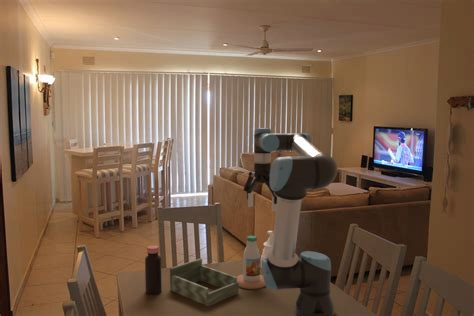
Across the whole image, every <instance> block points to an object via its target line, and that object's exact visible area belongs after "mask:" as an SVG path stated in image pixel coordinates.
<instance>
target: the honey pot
mask: <svg viewBox="0 0 474 316" xmlns="http://www.w3.org/2000/svg"><path fill="white" fill-rule="evenodd" d="M267 235H269V237H268V239H267V241H265V242H263V244H262V245H263V246H264V248H263V249H262V254H260V269H262V260H263V259H265V258H266V259H267V255H268V253H269V251H271V250H272V245H273V235H274V230H268V231H267Z"/></svg>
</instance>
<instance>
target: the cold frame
mask: <svg viewBox="0 0 474 316" xmlns="http://www.w3.org/2000/svg"><path fill="white" fill-rule="evenodd" d="M169 278H170V279H169V280H170V281H169V283H170V284H169V285H170V286H169V288H170V289H169V290H170V291H171V292H174V293H176V294H179V295H181V296H183V297H186V298H187V299H190V300H192V301H194V302H196V303H200V304H202V305H203V306H207V307H211V306H213V305H215V304H218V303H219V302H222V301H224V300H226V299H229V298H231V297H233V296H235V295H238V294H239V292H240V291H239V288H240V287H239V282H237V276H235V275H232V274H229V273H226V272H223V271H221V270H217V269H214V268H212V267H208V266H206V265H203V258H201V257H200V258H198V259H194V260H191V261H188V262H185V263H182V264H178V265H175V266H173V267H170V268H169ZM200 281H202V282H204V283H207V284H209V285H211V286H215V287H218V288H217V289H215V290H213V291H210V292H209V288H208V287H205V286H204V285H201V284H198V283H197V282H200Z"/></svg>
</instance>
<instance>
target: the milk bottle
mask: <svg viewBox="0 0 474 316" xmlns="http://www.w3.org/2000/svg"><path fill="white" fill-rule="evenodd" d="M257 240H258V236H255V235H247V236H246V246H245V249H244V252H243V255H242V256H243V259H242V263H243V264H242V274H243V279H244V280H245V281H247V282H257V281H259V280H260V275H261V253H260V249H259V248H258V245H257V242H258V241H257Z"/></svg>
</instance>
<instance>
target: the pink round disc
mask: <svg viewBox="0 0 474 316" xmlns="http://www.w3.org/2000/svg"><path fill="white" fill-rule="evenodd" d="M236 277H237V282H239V288H241V289H247V290H257V289H263V288H265V287H266V285H265V282H264V278H263V274H260V280H259V281H257V282H247V281H245V280H244V279H243V273H242V274H239V275H237V276H236Z"/></svg>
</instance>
